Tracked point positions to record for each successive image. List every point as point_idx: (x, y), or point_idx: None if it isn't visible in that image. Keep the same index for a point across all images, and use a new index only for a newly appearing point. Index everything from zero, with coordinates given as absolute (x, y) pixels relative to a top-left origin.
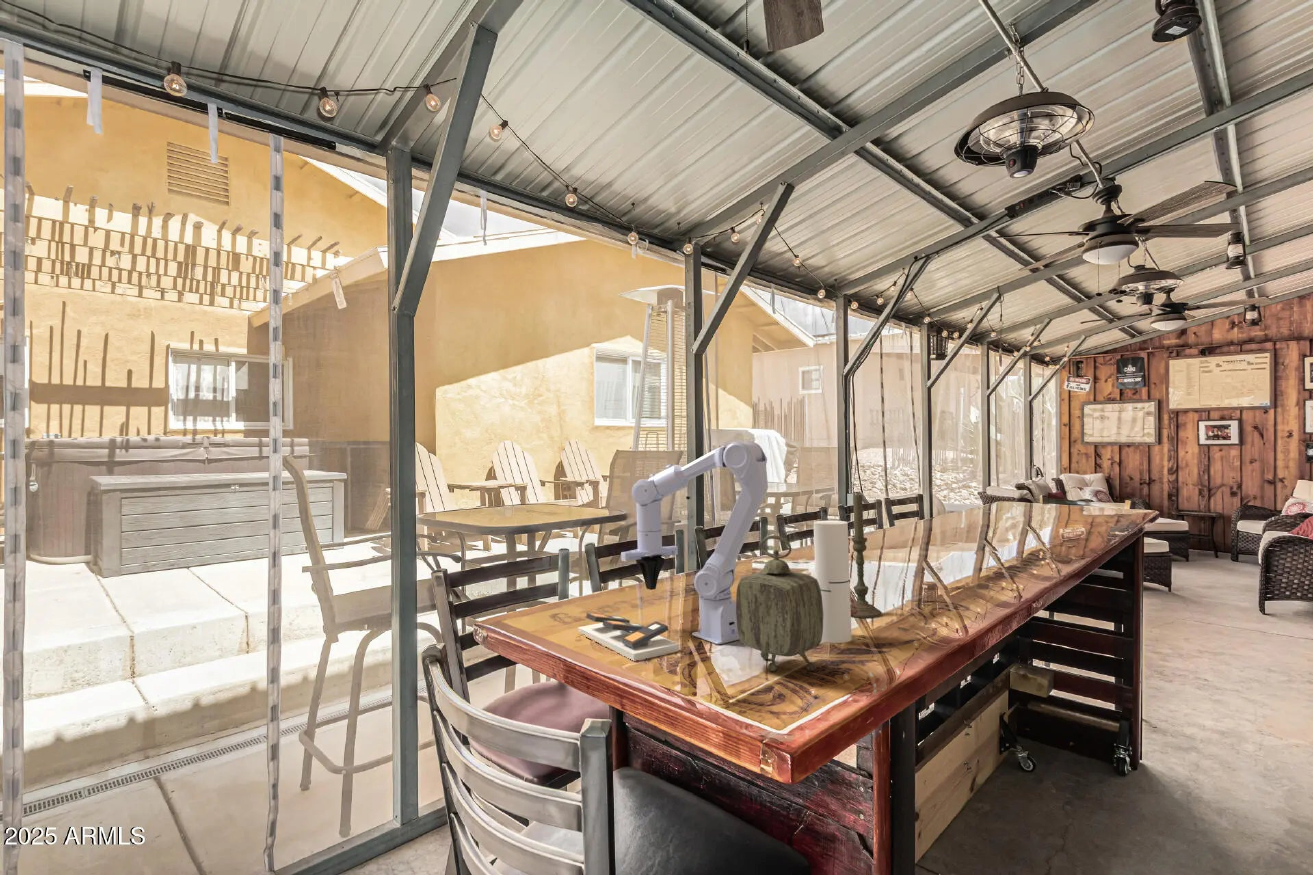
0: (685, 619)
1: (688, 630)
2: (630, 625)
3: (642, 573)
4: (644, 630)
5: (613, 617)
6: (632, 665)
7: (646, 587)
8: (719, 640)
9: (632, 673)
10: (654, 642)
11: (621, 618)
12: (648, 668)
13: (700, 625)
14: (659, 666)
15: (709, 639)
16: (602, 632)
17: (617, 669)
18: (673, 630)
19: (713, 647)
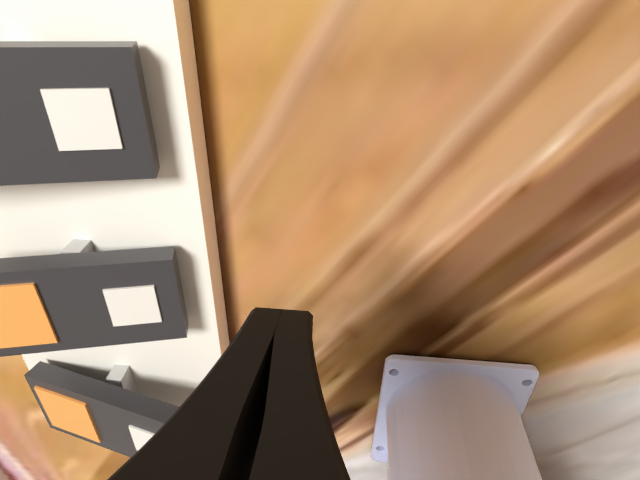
0: (610, 135)
1: (435, 296)
2: (85, 333)
3: (161, 435)
4: (112, 420)
5: (41, 124)
6: None
7: (249, 316)
8: (387, 459)
9: (43, 453)
10: (165, 398)
11: (100, 149)
12: (93, 453)
13: (396, 426)
14: (126, 459)
15: (376, 433)
16: None
17: (10, 420)
18: (385, 256)
19: (347, 453)
